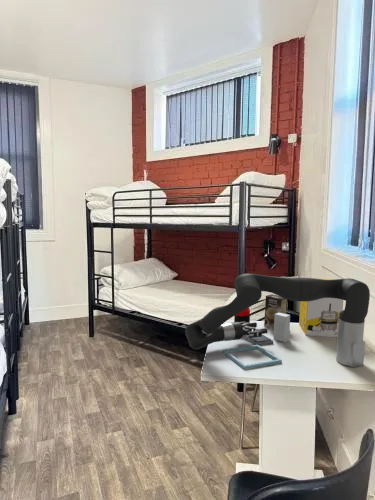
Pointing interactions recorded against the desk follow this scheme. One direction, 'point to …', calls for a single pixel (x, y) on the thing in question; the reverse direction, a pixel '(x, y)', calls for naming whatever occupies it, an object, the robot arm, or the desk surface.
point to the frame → (275, 361)
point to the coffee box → (273, 308)
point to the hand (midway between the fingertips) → (261, 327)
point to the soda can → (243, 316)
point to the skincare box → (281, 327)
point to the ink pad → (260, 340)
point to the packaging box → (320, 316)
